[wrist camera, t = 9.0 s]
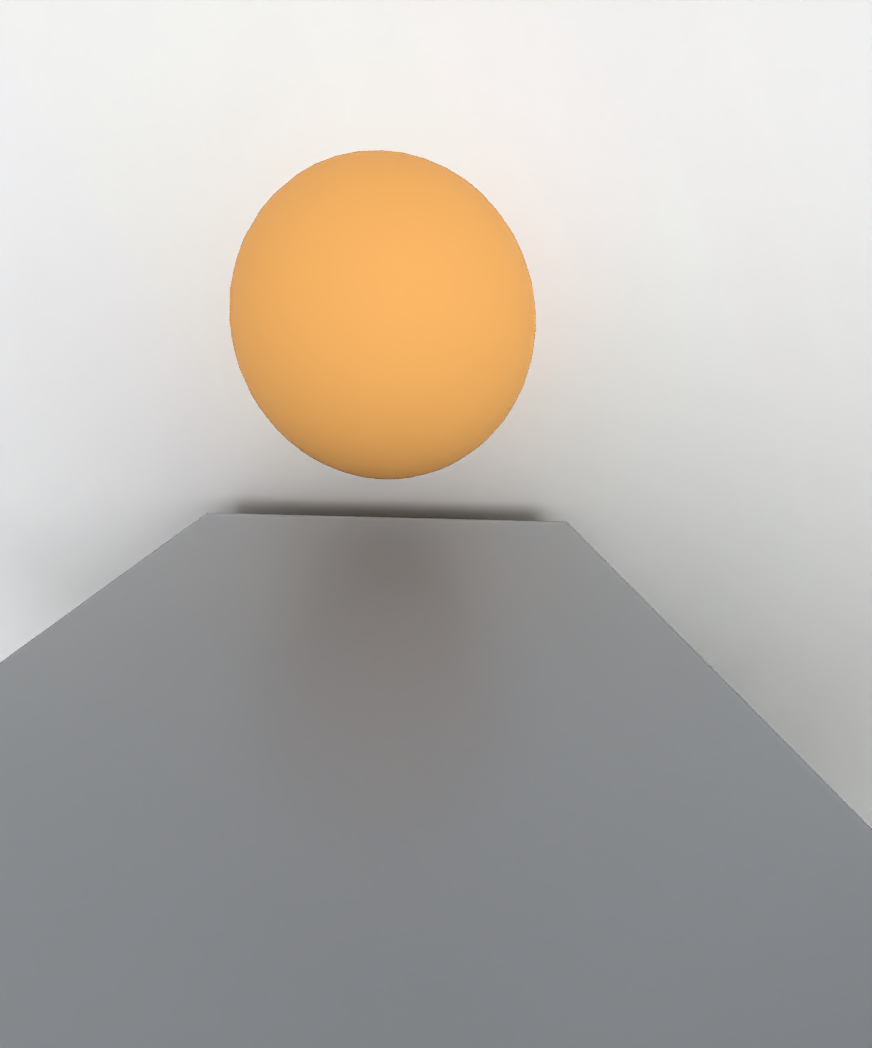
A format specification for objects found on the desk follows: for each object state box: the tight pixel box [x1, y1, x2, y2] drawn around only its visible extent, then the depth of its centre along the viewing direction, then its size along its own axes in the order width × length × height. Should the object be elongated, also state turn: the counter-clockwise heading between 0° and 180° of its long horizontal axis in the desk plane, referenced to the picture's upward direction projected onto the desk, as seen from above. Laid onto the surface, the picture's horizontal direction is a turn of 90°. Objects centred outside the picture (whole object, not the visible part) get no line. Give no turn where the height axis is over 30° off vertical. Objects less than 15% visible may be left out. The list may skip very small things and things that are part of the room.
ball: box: [230, 150, 535, 479], centre depth 8 cm, size 5×5×5 cm
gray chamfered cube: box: [0, 513, 872, 1048], centre depth 8 cm, size 8×8×9 cm
